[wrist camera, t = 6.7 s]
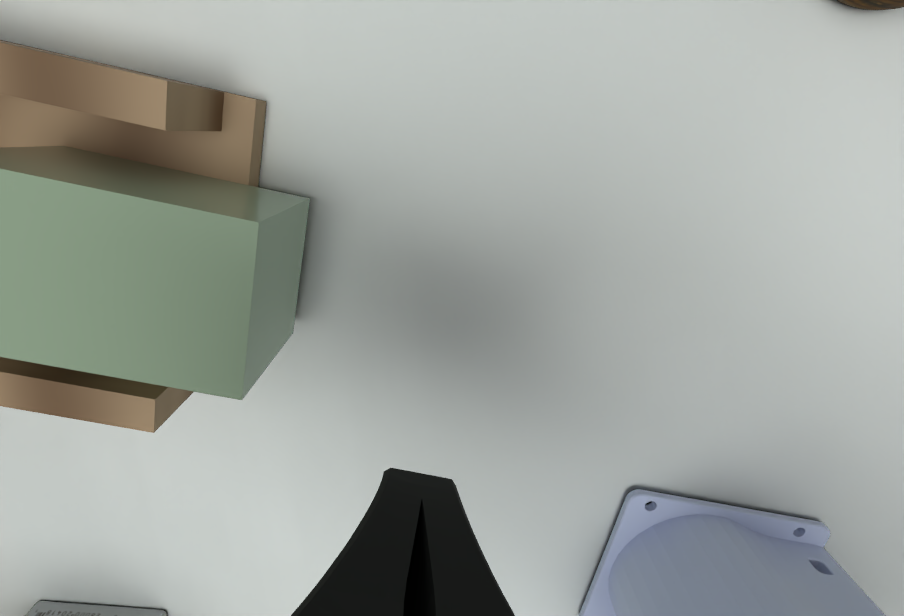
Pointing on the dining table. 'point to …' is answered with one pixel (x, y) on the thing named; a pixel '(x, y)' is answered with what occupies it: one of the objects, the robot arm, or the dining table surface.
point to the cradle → (130, 137)
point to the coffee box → (88, 610)
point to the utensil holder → (874, 4)
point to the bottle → (145, 270)
